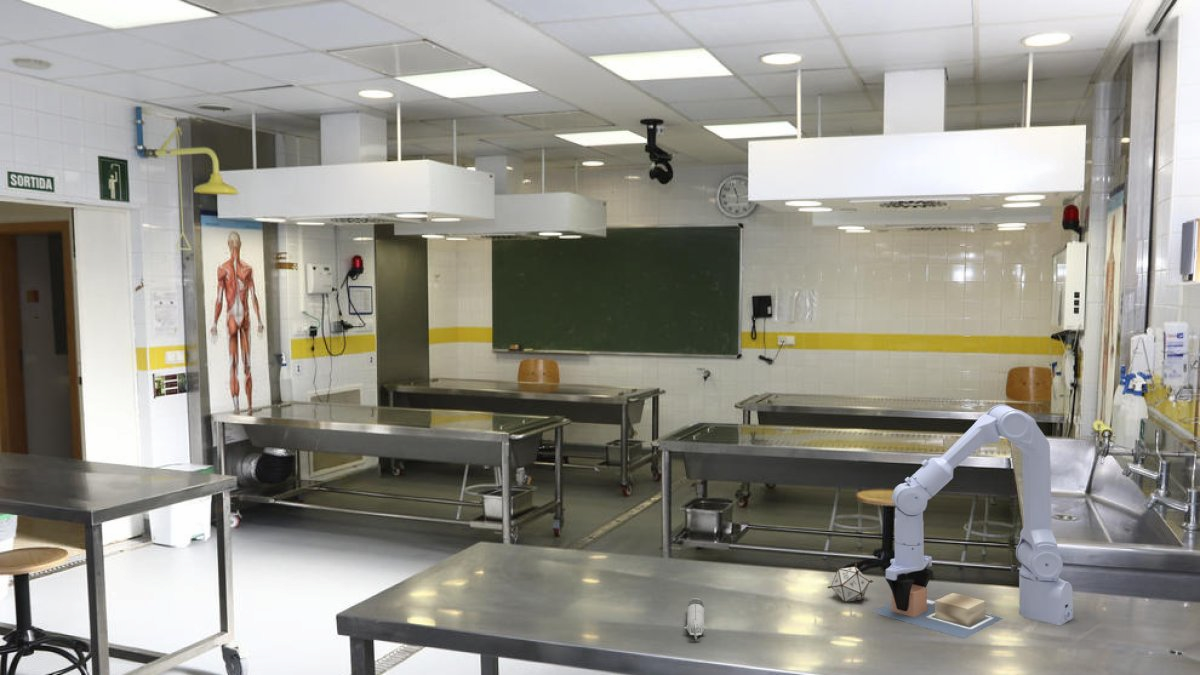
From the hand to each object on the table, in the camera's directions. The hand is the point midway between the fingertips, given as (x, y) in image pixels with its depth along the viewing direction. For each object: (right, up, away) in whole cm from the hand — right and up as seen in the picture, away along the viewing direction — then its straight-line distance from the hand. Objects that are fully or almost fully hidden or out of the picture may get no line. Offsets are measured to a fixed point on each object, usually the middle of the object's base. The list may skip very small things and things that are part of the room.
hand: (909, 606), depth 188 cm
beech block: (+9, -1, -4) cm, 10 cm away
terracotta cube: (0, -1, 0) cm, 1 cm away
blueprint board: (+5, -2, -2) cm, 6 cm away
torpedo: (-45, -3, -4) cm, 45 cm away
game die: (-10, -2, +9) cm, 13 cm away
